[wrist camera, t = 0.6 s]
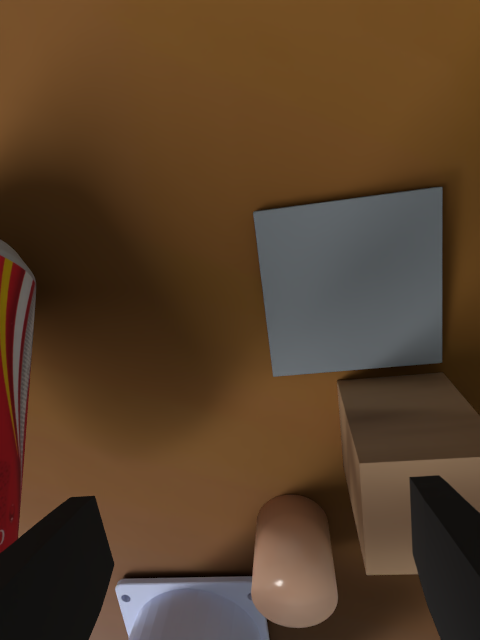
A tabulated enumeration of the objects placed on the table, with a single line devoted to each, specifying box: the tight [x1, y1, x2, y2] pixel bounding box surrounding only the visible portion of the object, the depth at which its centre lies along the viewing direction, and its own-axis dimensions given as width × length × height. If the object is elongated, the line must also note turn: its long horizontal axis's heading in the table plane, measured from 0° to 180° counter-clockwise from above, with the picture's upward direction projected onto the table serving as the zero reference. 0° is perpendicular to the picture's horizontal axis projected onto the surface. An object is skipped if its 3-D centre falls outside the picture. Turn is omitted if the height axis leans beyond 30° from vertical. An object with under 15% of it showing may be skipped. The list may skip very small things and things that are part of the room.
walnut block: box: [337, 372, 480, 575], centre depth 17 cm, size 4×4×6 cm
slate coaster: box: [253, 187, 442, 377], centre depth 17 cm, size 7×7×1 cm
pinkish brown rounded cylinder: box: [251, 495, 338, 628], centre depth 20 cm, size 4×4×4 cm
